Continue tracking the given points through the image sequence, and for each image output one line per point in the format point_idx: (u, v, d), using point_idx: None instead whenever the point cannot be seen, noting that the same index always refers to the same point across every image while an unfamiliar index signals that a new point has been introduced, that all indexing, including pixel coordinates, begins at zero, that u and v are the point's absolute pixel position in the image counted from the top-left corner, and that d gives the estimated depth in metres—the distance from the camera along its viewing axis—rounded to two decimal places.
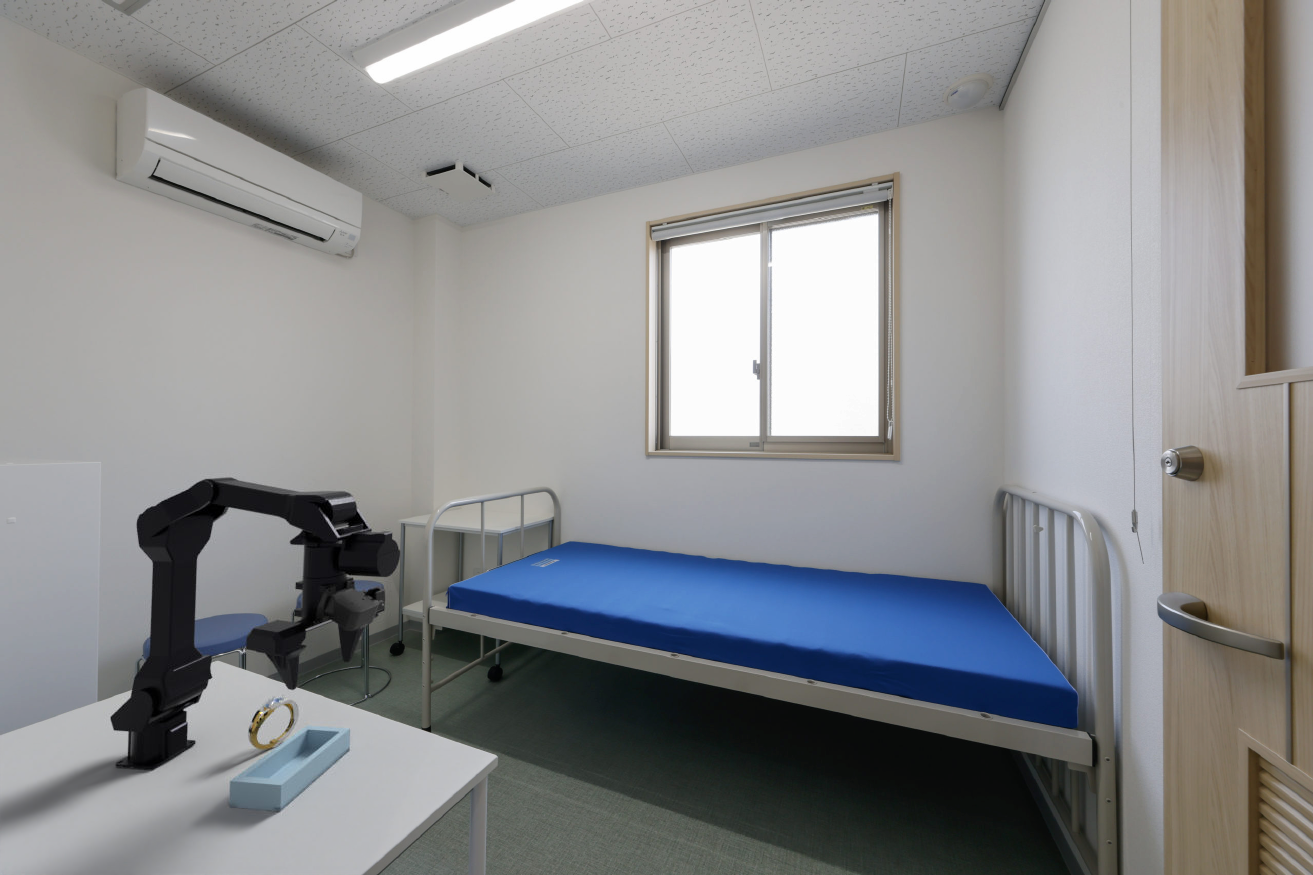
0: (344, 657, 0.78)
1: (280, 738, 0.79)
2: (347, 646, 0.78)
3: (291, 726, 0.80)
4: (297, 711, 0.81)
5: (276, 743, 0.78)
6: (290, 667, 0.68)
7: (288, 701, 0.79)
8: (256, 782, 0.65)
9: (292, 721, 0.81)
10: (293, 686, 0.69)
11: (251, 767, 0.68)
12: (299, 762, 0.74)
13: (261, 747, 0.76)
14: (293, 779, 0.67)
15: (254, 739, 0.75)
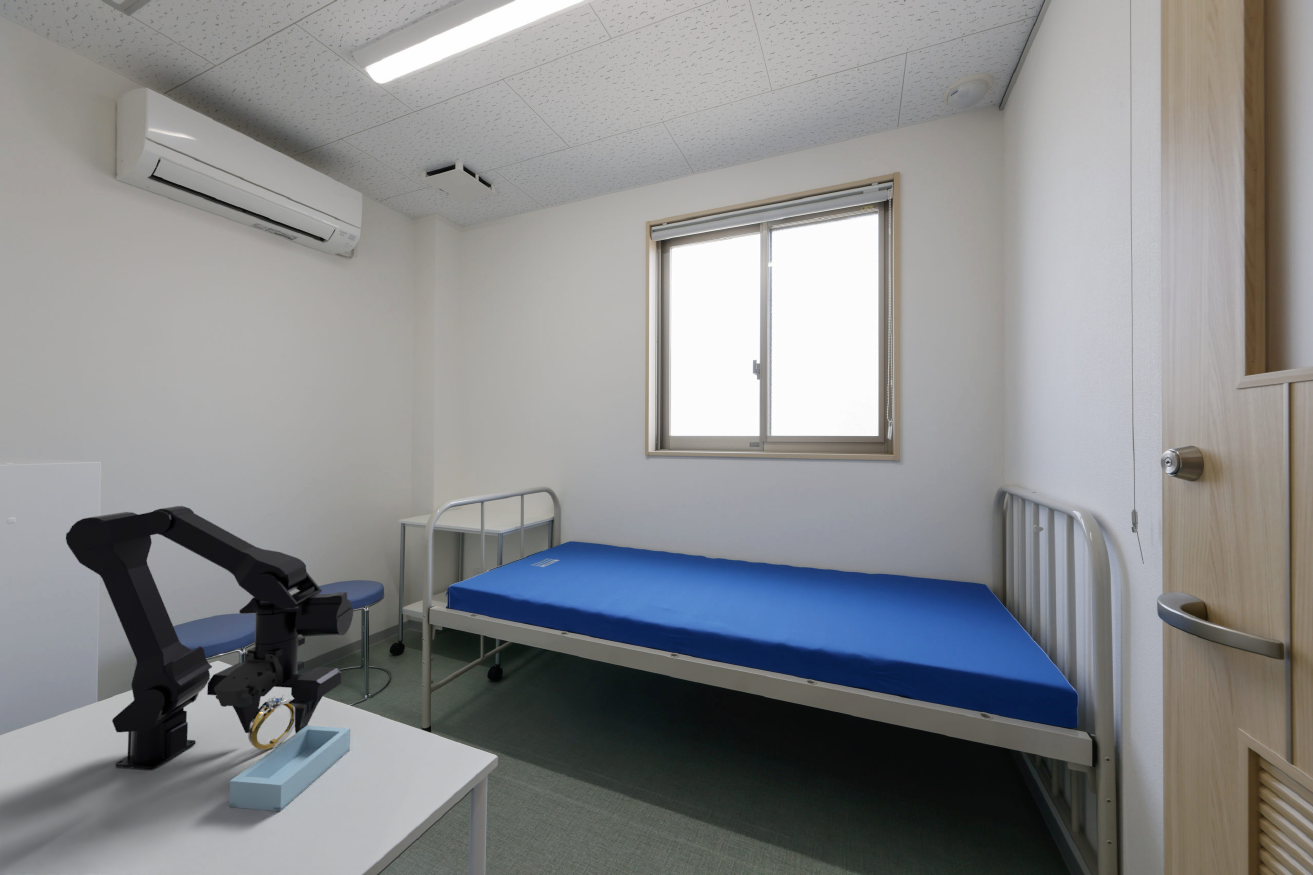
0: None
1: (280, 738, 0.79)
2: None
3: (291, 726, 0.80)
4: None
5: (276, 743, 0.78)
6: (236, 711, 0.77)
7: (288, 701, 0.79)
8: (256, 782, 0.65)
9: (292, 721, 0.81)
10: (244, 729, 0.78)
11: (251, 767, 0.68)
12: (299, 762, 0.74)
13: (261, 747, 0.76)
14: (293, 779, 0.67)
15: (254, 739, 0.75)
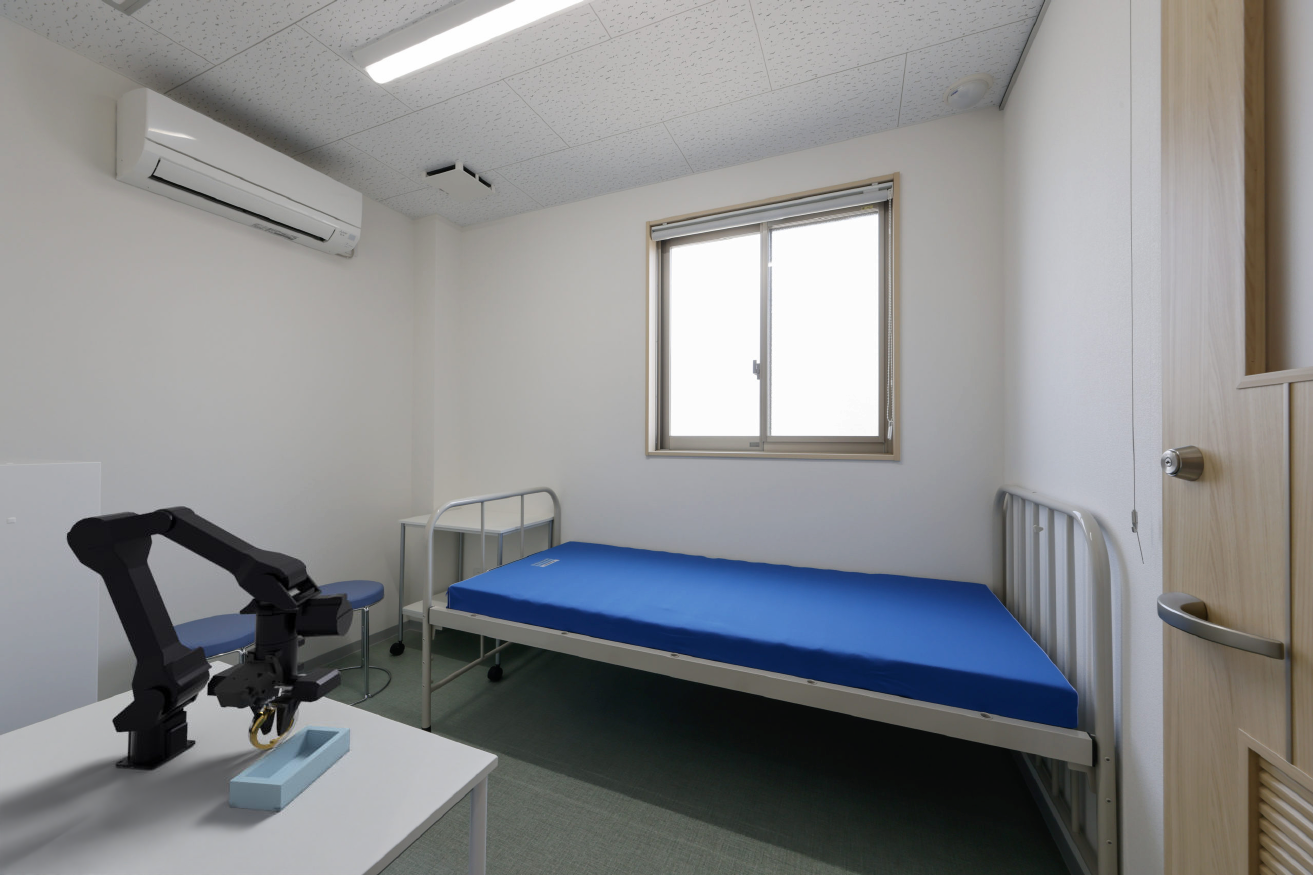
0: None
1: (280, 738, 0.79)
2: None
3: (291, 726, 0.80)
4: (297, 711, 0.81)
5: (276, 743, 0.78)
6: (253, 713, 0.77)
7: None
8: (256, 782, 0.65)
9: (292, 721, 0.81)
10: (262, 732, 0.78)
11: (251, 767, 0.68)
12: (299, 762, 0.74)
13: (261, 747, 0.76)
14: (293, 779, 0.67)
15: (254, 739, 0.75)
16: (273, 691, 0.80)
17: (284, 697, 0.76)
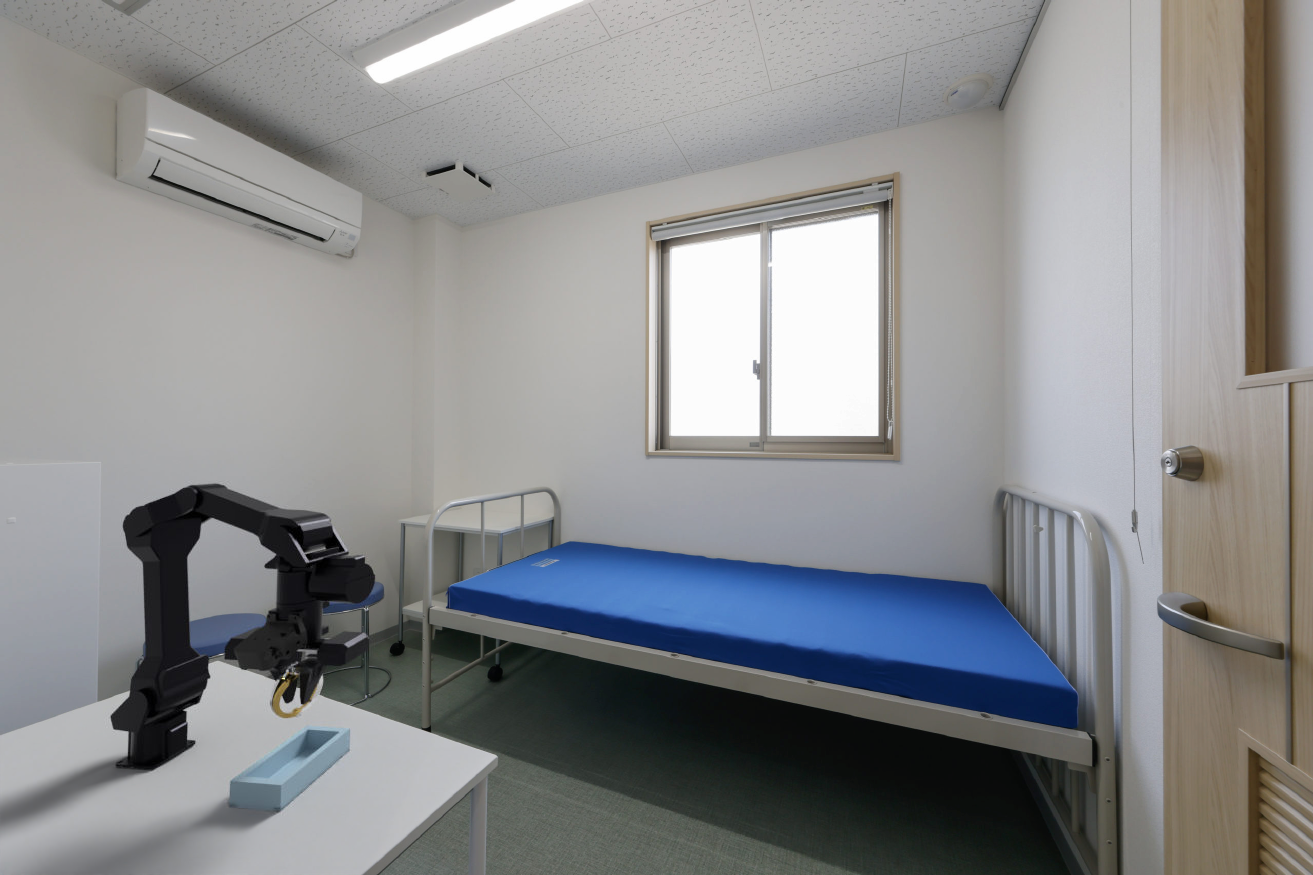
0: None
1: (303, 707, 0.72)
2: None
3: (315, 694, 0.74)
4: (321, 678, 0.75)
5: (299, 712, 0.72)
6: (275, 679, 0.71)
7: None
8: (256, 782, 0.65)
9: (316, 689, 0.74)
10: (284, 700, 0.71)
11: (251, 767, 0.68)
12: (299, 762, 0.74)
13: (284, 715, 0.70)
14: (293, 779, 0.67)
15: (276, 706, 0.69)
16: (295, 656, 0.73)
17: (308, 661, 0.70)
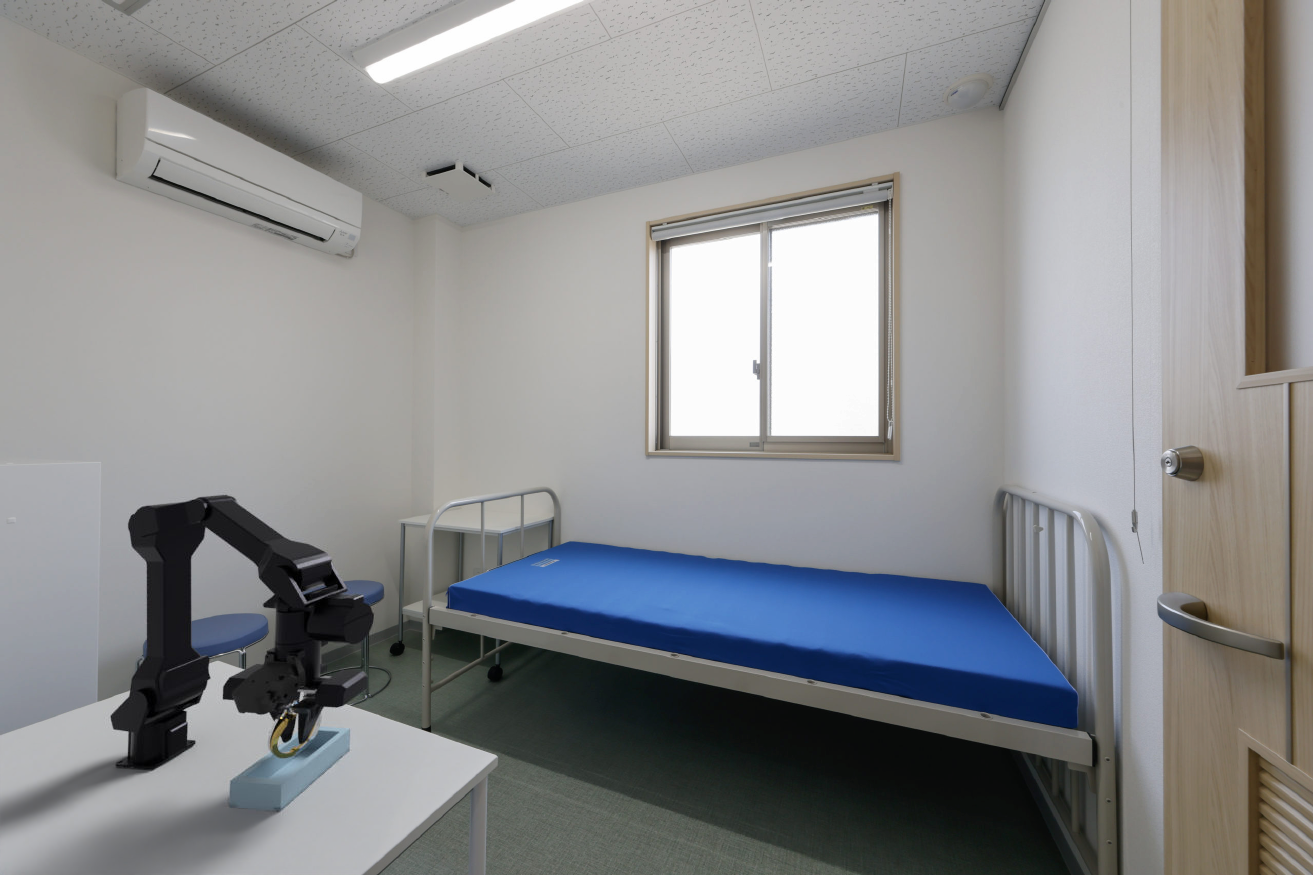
0: None
1: (301, 746, 0.72)
2: None
3: (313, 732, 0.74)
4: (320, 716, 0.74)
5: (297, 751, 0.71)
6: (273, 718, 0.71)
7: None
8: (256, 782, 0.65)
9: (314, 726, 0.74)
10: (282, 739, 0.71)
11: (251, 767, 0.68)
12: (299, 762, 0.74)
13: (282, 756, 0.69)
14: (293, 779, 0.67)
15: (274, 747, 0.68)
16: (294, 695, 0.73)
17: (307, 702, 0.70)
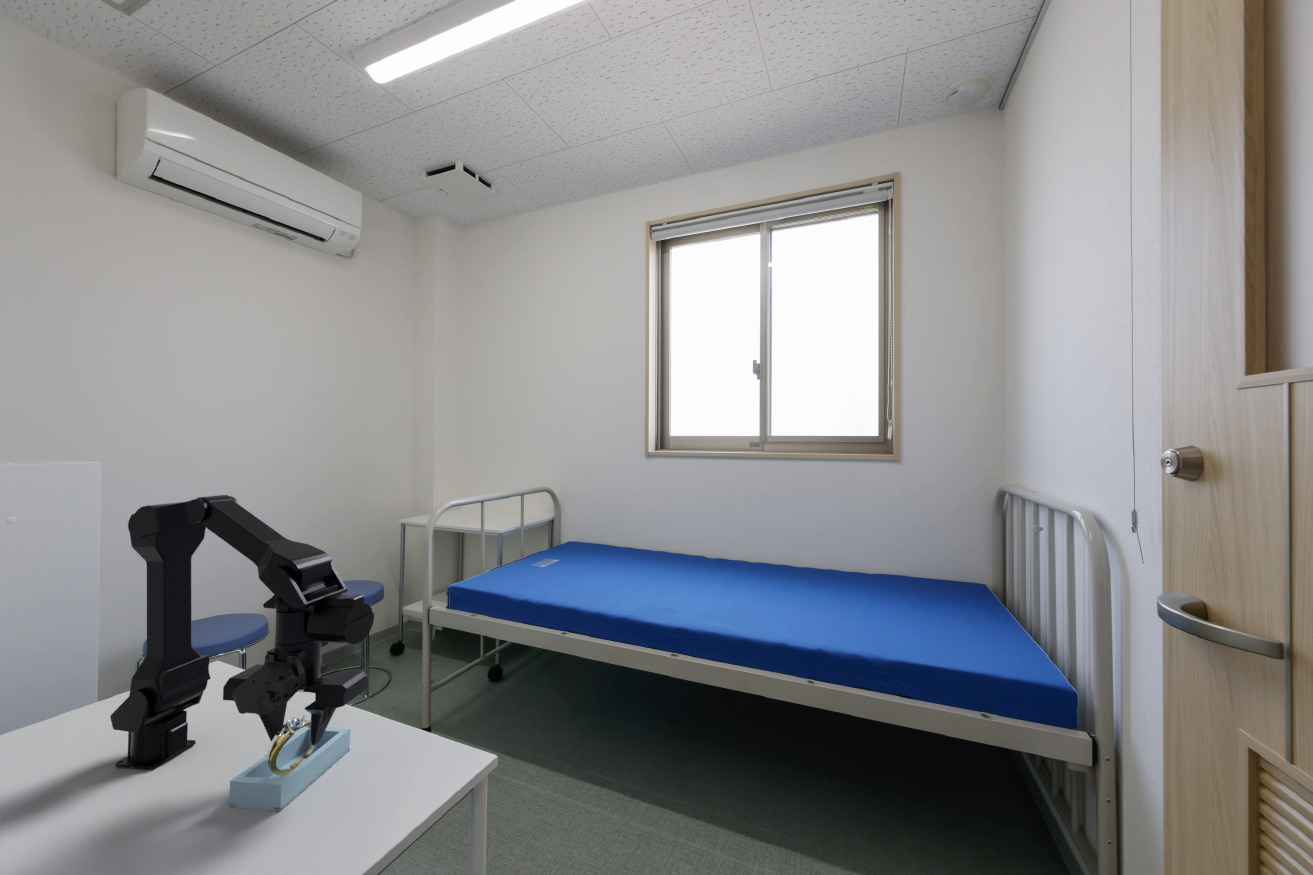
0: None
1: (301, 762, 0.72)
2: None
3: (313, 748, 0.73)
4: None
5: None
6: (261, 718, 0.71)
7: (309, 722, 0.72)
8: (256, 782, 0.65)
9: None
10: (270, 738, 0.71)
11: (251, 767, 0.68)
12: None
13: (281, 773, 0.69)
14: (293, 779, 0.67)
15: (273, 765, 0.68)
16: None
17: None
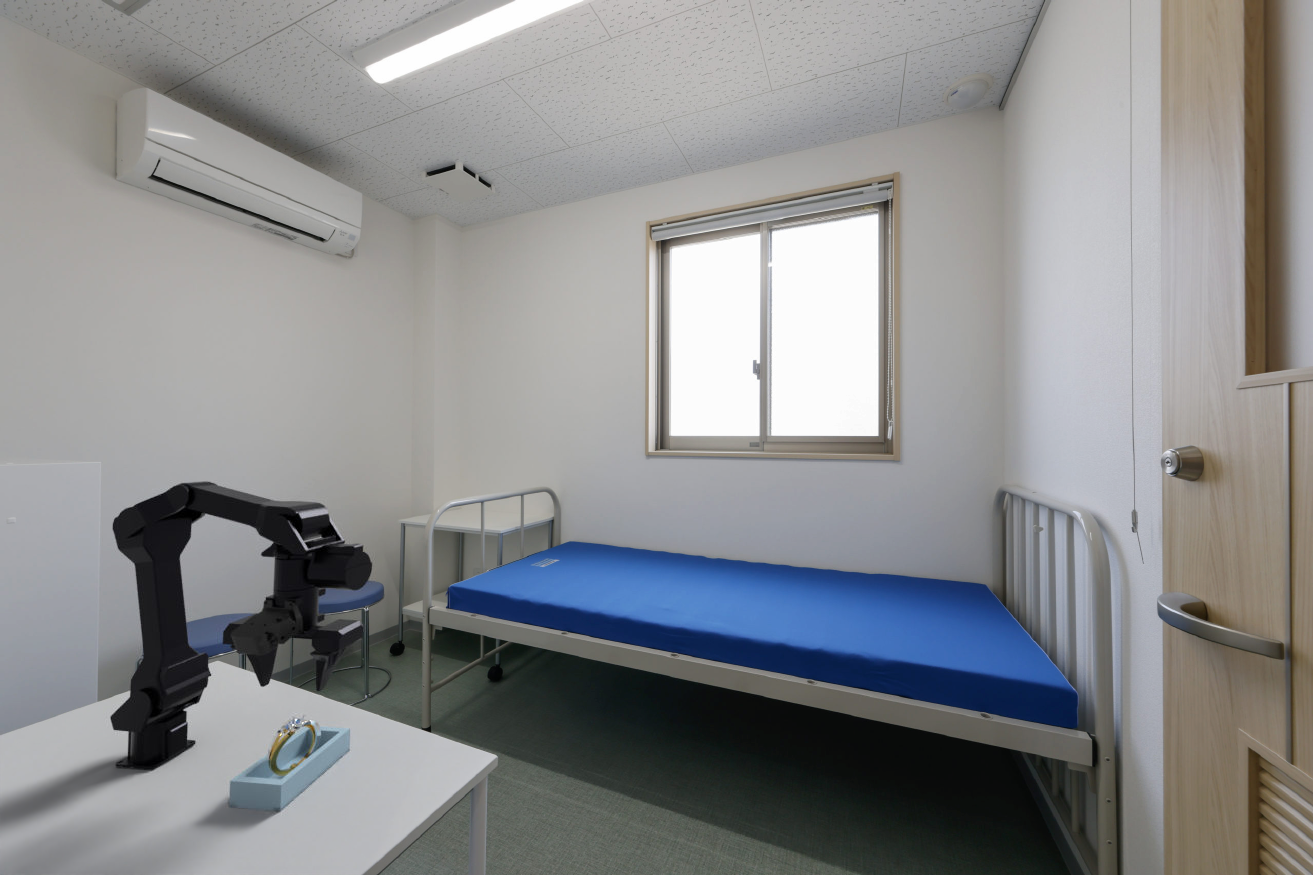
0: None
1: None
2: None
3: (313, 749, 0.74)
4: (319, 732, 0.74)
5: None
6: (251, 662, 0.73)
7: (309, 722, 0.72)
8: (256, 782, 0.65)
9: (314, 743, 0.74)
10: (259, 683, 0.73)
11: (251, 767, 0.68)
12: None
13: (281, 773, 0.69)
14: (293, 779, 0.67)
15: (273, 765, 0.68)
16: None
17: None
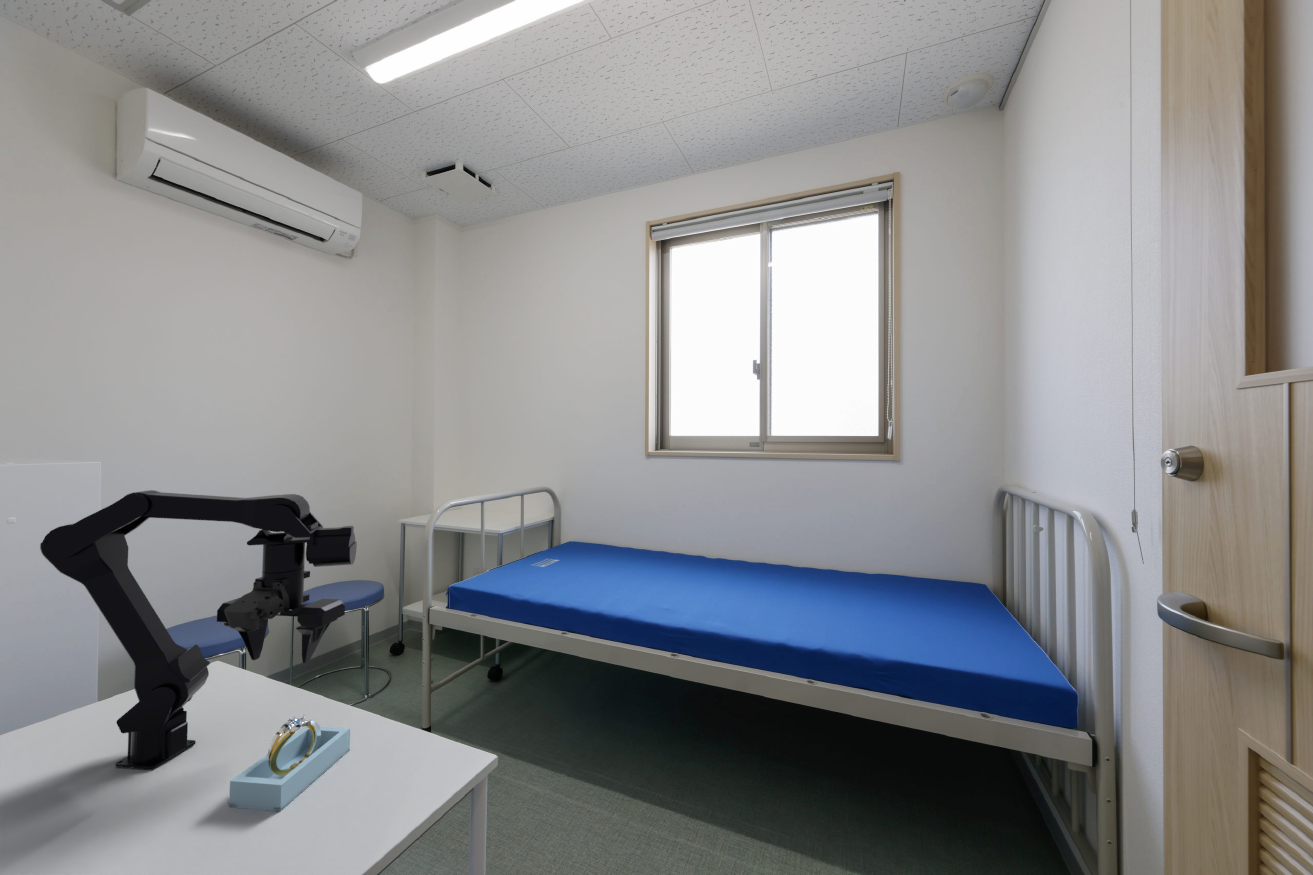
0: None
1: None
2: None
3: (313, 749, 0.74)
4: (319, 732, 0.74)
5: None
6: (243, 638, 0.81)
7: (309, 722, 0.72)
8: (256, 782, 0.65)
9: (314, 743, 0.74)
10: (251, 657, 0.81)
11: (251, 767, 0.68)
12: None
13: (281, 773, 0.69)
14: (293, 779, 0.67)
15: (273, 765, 0.68)
16: None
17: None
